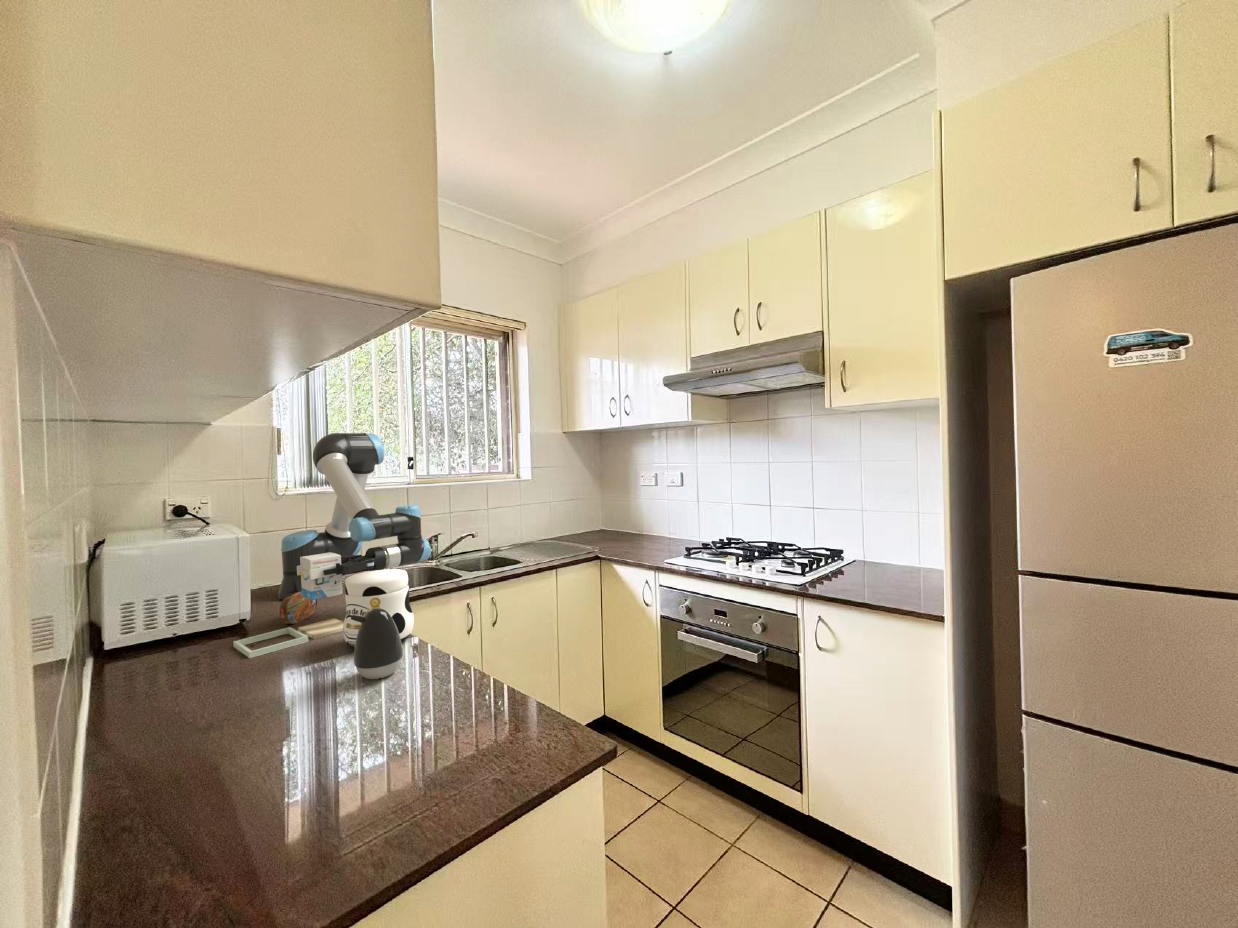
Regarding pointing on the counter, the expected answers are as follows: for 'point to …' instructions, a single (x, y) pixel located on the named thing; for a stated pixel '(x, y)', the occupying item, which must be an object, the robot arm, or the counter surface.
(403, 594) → the milk container
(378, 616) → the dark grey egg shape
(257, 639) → the tray
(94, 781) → the counter surface
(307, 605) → the tin
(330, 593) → the ink box
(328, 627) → the pad
